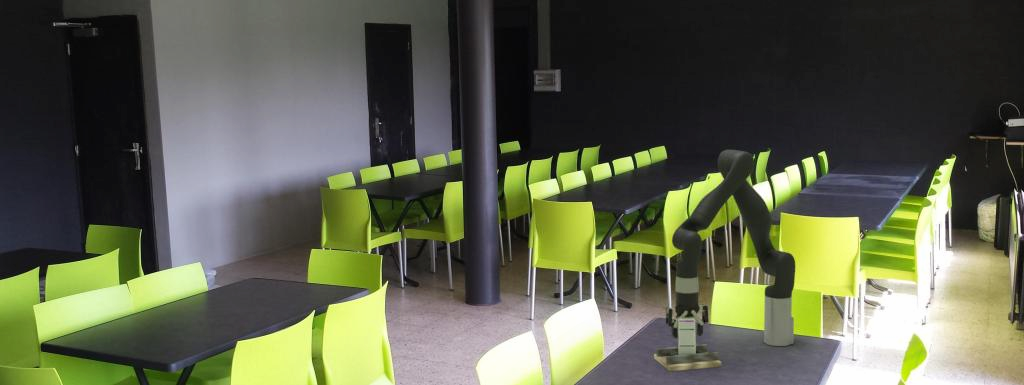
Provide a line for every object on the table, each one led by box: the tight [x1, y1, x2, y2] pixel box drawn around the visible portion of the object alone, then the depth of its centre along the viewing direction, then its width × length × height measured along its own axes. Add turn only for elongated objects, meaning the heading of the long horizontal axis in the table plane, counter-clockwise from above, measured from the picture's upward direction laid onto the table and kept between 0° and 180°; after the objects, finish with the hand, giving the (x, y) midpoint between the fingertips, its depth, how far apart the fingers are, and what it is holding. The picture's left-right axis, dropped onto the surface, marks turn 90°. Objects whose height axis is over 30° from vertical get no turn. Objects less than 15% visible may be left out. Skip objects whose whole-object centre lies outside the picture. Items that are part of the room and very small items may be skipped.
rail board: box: [653, 343, 722, 372], centre depth 299 cm, size 18×14×4 cm
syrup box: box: [677, 317, 697, 355], centre depth 298 cm, size 6×6×14 cm
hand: (687, 336), depth 298 cm, fingers open, 8 cm apart
